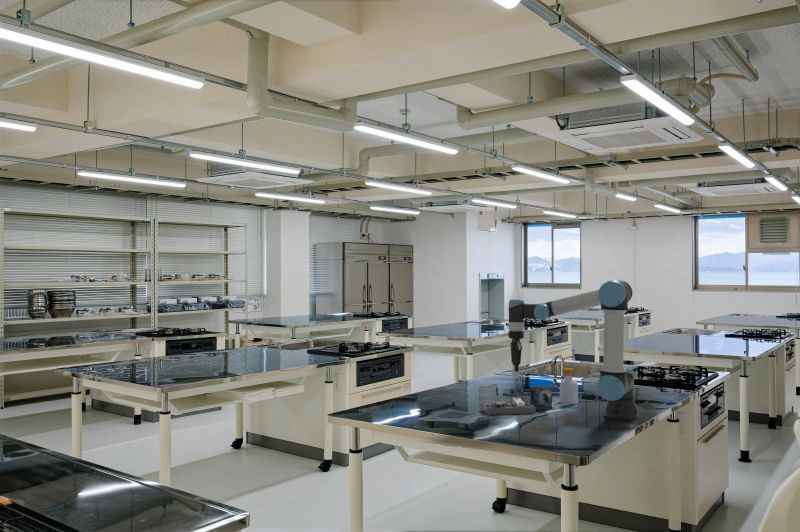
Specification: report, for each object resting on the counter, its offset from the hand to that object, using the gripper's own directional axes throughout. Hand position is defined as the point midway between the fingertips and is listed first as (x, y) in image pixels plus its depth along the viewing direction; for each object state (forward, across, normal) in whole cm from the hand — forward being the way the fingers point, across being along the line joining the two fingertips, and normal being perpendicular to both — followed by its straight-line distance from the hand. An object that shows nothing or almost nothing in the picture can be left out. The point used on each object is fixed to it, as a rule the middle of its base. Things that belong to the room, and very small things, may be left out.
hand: (515, 377), depth 310 cm
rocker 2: (+11, -4, 0) cm, 12 cm away
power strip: (+16, -4, +4) cm, 17 cm away
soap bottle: (+16, +13, -32) cm, 39 cm away
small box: (+16, +4, -14) cm, 22 cm away
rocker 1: (+12, -4, +10) cm, 15 cm away
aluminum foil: (+17, +78, -83) cm, 115 cm away
